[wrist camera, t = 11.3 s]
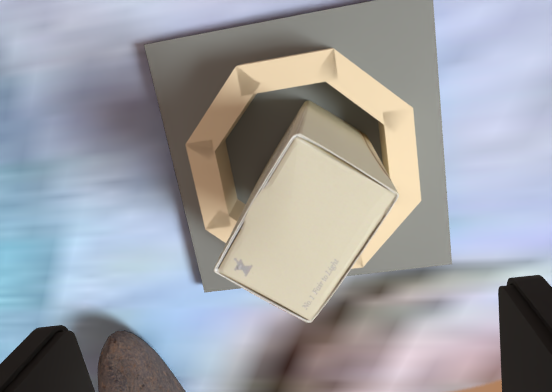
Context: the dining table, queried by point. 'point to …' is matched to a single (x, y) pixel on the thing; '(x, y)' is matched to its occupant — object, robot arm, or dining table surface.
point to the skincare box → (308, 214)
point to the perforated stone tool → (133, 367)
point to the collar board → (285, 105)
